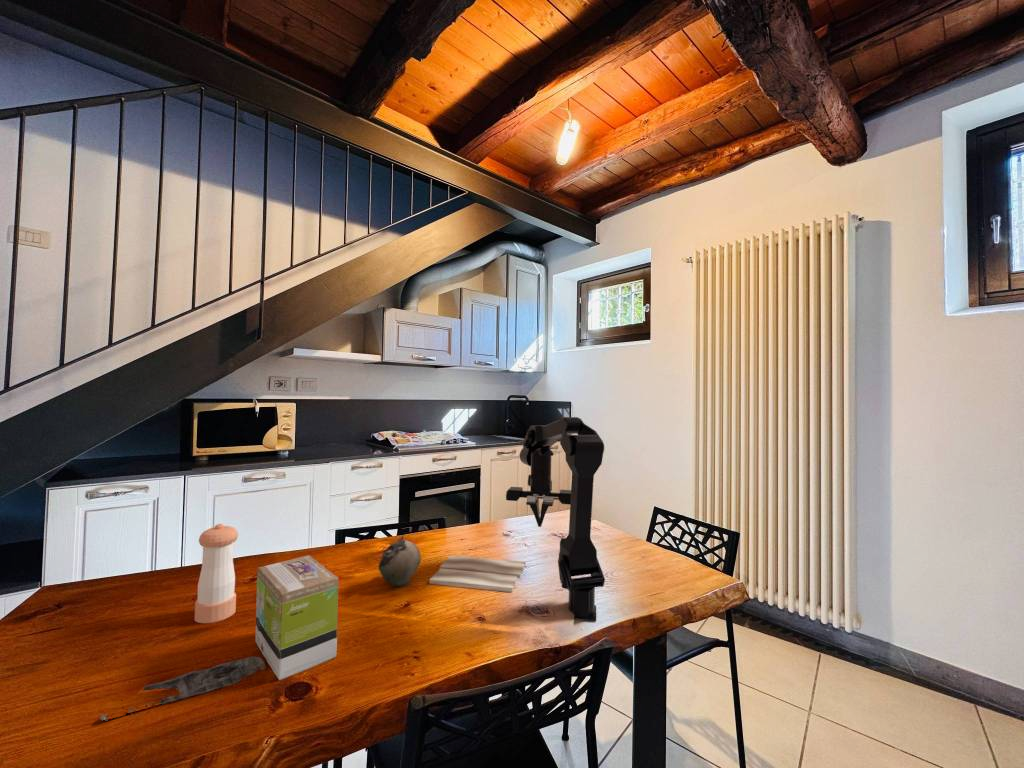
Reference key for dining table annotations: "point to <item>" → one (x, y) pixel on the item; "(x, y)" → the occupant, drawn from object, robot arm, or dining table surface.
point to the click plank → (474, 580)
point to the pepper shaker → (216, 575)
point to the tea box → (296, 615)
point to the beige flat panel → (484, 565)
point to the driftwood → (208, 679)
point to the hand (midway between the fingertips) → (539, 526)
